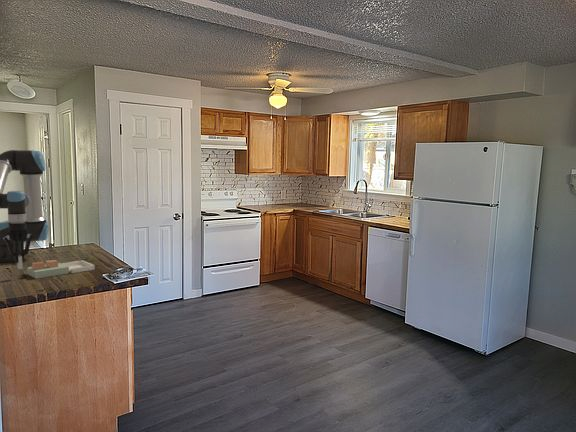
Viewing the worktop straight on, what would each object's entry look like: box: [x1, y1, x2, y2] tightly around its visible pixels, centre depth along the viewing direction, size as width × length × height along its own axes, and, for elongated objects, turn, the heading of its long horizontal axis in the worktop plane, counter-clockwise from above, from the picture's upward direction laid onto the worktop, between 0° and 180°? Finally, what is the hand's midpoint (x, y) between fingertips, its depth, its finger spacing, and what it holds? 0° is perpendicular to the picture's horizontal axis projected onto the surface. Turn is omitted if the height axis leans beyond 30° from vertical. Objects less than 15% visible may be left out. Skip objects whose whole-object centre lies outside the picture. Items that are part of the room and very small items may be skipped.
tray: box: [60, 259, 96, 275], centre depth 239 cm, size 16×13×2 cm
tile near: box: [31, 261, 46, 270], centre depth 225 cm, size 4×4×3 cm
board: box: [26, 262, 70, 280], centre depth 228 cm, size 13×16×4 cm
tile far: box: [45, 259, 59, 268], centre depth 229 cm, size 4×4×3 cm
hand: (20, 268), depth 218 cm, fingers closed
